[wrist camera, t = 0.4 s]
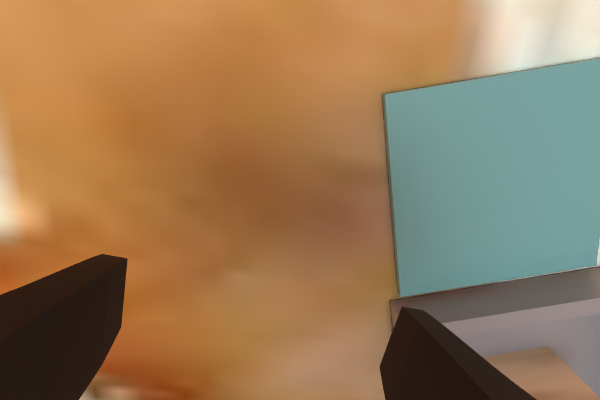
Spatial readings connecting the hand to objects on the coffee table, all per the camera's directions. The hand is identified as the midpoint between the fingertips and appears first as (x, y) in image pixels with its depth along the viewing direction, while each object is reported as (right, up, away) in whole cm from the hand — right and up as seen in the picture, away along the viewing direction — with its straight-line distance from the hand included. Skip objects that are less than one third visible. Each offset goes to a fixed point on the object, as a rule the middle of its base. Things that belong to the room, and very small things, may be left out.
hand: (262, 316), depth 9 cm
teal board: (+11, +4, +9) cm, 15 cm away
